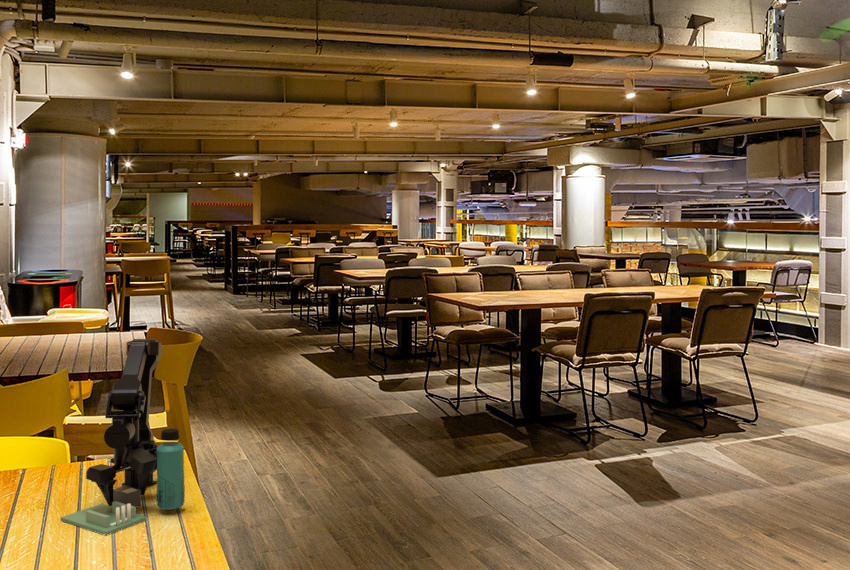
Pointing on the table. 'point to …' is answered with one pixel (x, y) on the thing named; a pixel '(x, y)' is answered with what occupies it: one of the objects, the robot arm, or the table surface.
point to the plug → (127, 495)
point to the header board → (105, 517)
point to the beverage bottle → (170, 471)
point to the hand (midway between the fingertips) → (126, 500)
